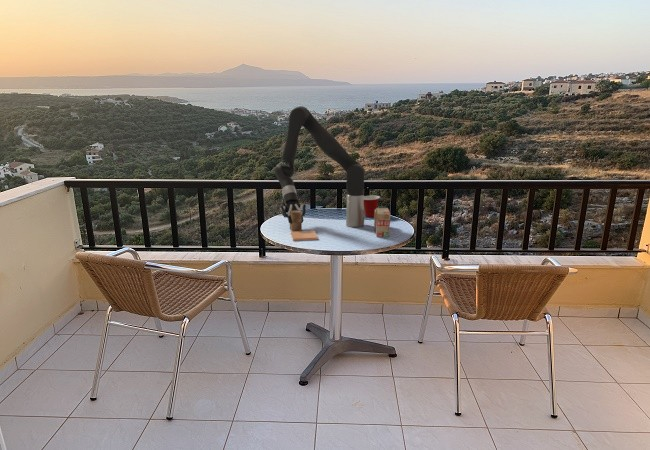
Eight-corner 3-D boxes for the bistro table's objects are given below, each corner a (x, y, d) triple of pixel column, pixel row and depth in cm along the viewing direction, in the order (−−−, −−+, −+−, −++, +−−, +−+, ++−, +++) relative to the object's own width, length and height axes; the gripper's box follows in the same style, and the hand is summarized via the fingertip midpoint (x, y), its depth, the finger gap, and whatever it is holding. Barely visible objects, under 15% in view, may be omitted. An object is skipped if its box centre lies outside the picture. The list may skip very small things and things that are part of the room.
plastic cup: (360, 214, 245) (361, 194, 242) (378, 214, 245) (379, 194, 241) (361, 218, 234) (361, 198, 231) (379, 218, 234) (380, 198, 231)
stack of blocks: (373, 225, 220) (374, 203, 216) (385, 226, 219) (386, 204, 216) (376, 237, 199) (377, 213, 196) (389, 237, 199) (390, 213, 196)
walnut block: (299, 227, 213) (298, 209, 210) (301, 230, 208) (301, 211, 206) (289, 228, 211) (289, 210, 208) (292, 231, 207) (292, 212, 204)
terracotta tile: (314, 232, 206) (314, 230, 205) (317, 239, 194) (317, 237, 194) (290, 233, 204) (290, 231, 203) (293, 240, 192) (293, 238, 192)
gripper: (278, 192, 209) (284, 220, 201) (304, 190, 214) (311, 218, 206) (276, 200, 215) (282, 227, 208) (301, 198, 220) (308, 225, 212)
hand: (296, 222), depth 207 cm, fingers closed on walnut block, 5 cm apart
